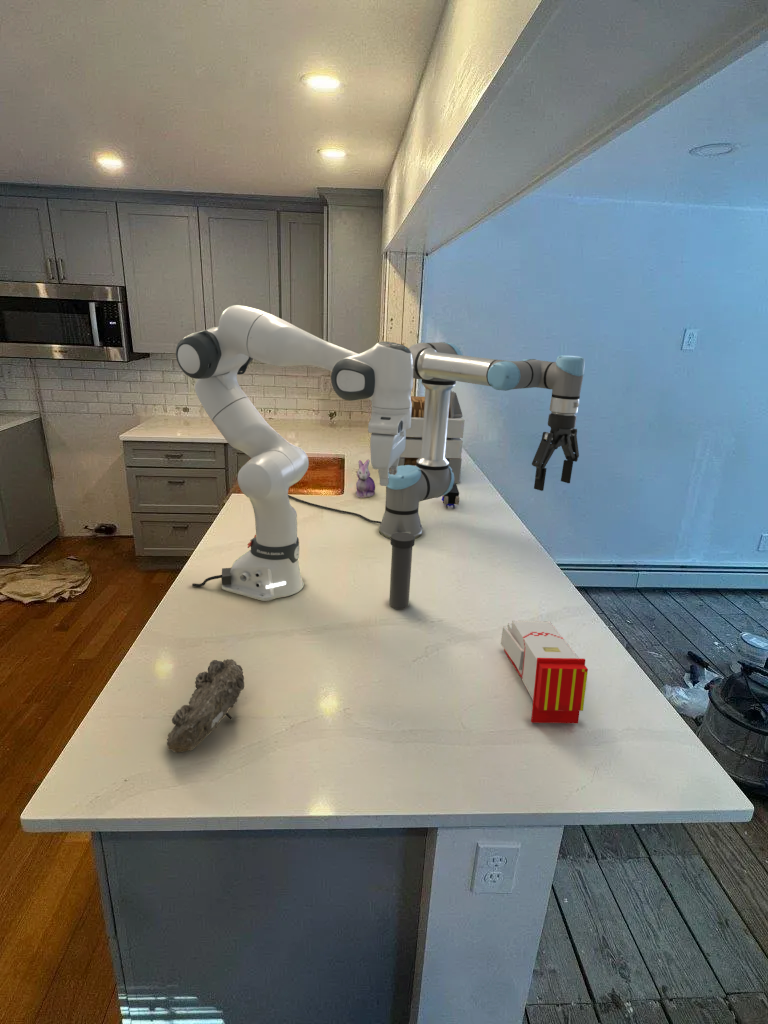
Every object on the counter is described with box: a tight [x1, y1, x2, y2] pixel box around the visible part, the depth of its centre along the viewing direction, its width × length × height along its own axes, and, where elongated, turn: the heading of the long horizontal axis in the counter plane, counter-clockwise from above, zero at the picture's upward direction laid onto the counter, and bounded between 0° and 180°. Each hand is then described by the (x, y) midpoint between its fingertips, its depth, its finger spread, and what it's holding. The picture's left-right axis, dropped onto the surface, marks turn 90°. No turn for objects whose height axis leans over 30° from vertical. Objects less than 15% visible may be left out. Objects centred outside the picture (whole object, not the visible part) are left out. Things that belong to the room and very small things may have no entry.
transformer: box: [398, 390, 465, 484], centre depth 268 cm, size 34×33×41 cm
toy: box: [500, 620, 589, 724], centre depth 121 cm, size 12×13×30 cm
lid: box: [390, 532, 416, 549], centre depth 146 cm, size 6×6×2 cm
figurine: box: [355, 459, 376, 499], centre depth 237 cm, size 9×10×15 cm
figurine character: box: [441, 483, 460, 509], centre depth 231 cm, size 7×8×15 cm
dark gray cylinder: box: [388, 545, 413, 610], centre depth 149 cm, size 5×5×19 cm
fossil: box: [166, 658, 245, 754], centre depth 106 cm, size 22×10×15 cm
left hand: (388, 479), depth 130 cm, fingers open, 8 cm apart
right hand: (552, 485), depth 166 cm, fingers open, 13 cm apart
